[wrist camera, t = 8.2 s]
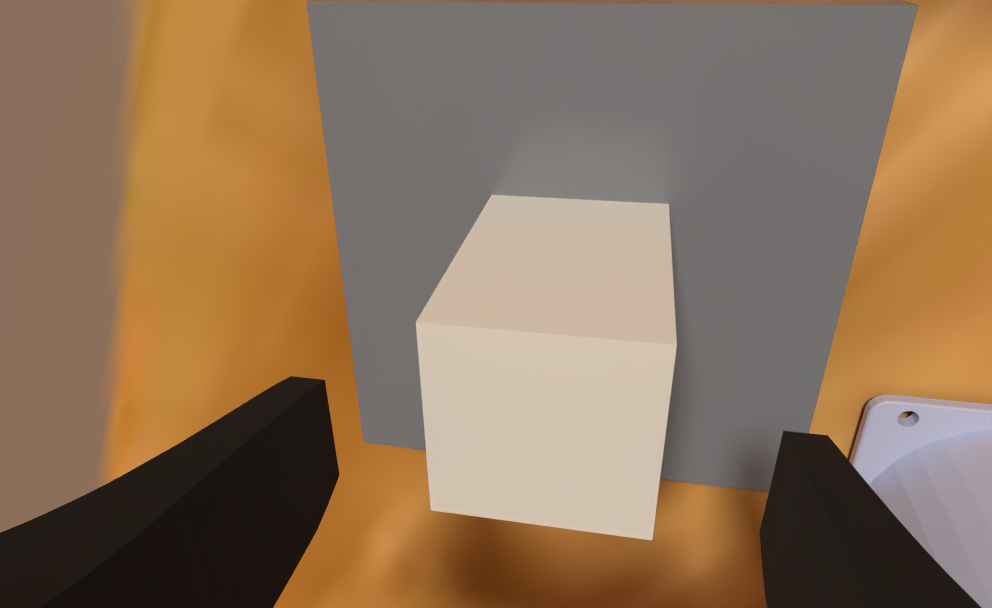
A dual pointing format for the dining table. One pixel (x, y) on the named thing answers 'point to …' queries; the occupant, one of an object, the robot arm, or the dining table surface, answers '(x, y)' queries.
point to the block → (552, 365)
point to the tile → (617, 179)
